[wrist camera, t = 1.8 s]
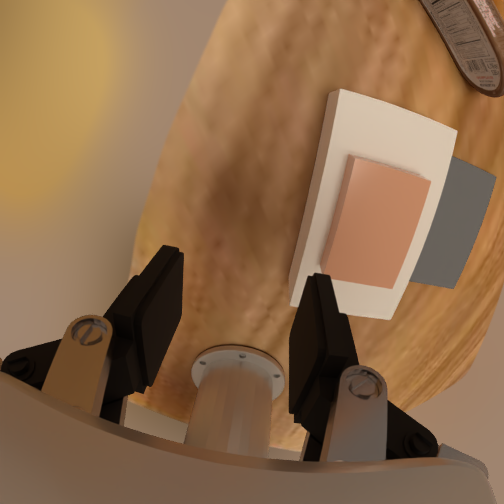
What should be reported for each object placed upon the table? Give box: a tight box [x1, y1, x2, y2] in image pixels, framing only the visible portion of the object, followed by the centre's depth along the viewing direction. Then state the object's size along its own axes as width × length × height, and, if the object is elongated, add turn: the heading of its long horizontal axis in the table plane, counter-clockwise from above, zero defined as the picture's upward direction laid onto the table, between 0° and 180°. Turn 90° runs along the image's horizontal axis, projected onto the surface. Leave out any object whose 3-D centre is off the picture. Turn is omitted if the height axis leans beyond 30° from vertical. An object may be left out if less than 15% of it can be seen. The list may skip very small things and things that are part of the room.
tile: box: [320, 154, 431, 289], centre depth 20 cm, size 9×6×2 cm, turn 171°
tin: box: [419, 0, 504, 97], centre depth 13 cm, size 15×3×8 cm, turn 31°
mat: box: [409, 156, 496, 289], centre depth 25 cm, size 14×10×1 cm
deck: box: [289, 89, 457, 320], centre depth 24 cm, size 18×10×5 cm, turn 171°
